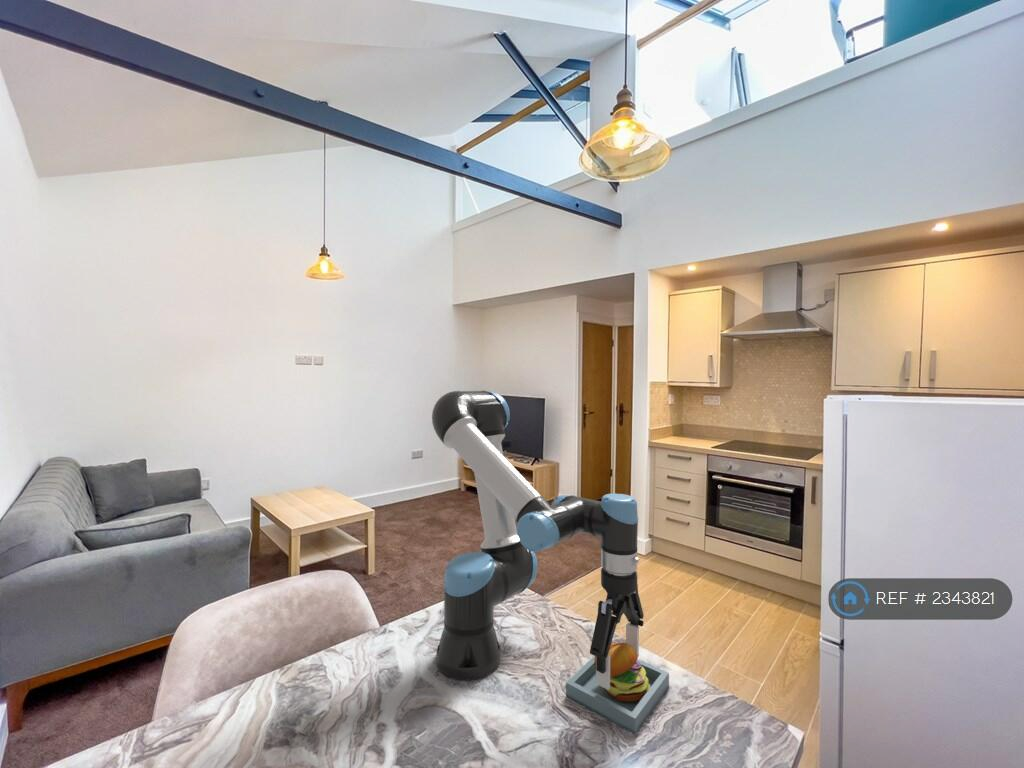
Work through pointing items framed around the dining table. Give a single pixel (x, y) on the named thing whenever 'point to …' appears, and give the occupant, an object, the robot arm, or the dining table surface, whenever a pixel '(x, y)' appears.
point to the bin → (612, 709)
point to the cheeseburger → (626, 674)
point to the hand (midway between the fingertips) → (618, 669)
